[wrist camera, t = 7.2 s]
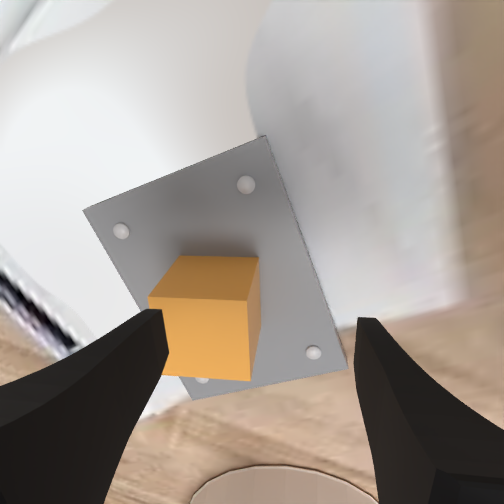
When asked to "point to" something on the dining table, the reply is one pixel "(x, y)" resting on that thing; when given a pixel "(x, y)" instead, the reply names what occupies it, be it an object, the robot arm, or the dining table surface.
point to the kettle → (279, 488)
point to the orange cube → (210, 316)
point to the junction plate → (228, 245)
